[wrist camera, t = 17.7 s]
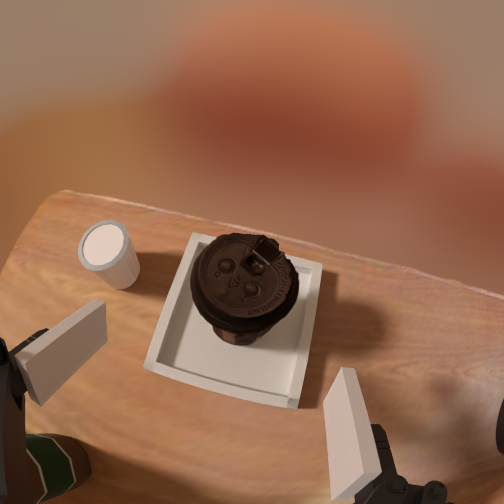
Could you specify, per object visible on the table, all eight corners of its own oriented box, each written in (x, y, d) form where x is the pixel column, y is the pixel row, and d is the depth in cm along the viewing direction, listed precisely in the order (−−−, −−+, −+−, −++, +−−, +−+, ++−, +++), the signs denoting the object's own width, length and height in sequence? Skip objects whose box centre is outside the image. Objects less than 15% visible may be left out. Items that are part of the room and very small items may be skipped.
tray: (317, 272, 36) (322, 263, 34) (291, 408, 27) (296, 409, 25) (194, 242, 37) (193, 231, 35) (149, 370, 28) (142, 367, 26)
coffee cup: (271, 283, 34) (292, 221, 22) (283, 349, 30) (316, 318, 18) (200, 290, 32) (185, 228, 21) (206, 358, 28) (189, 333, 17)
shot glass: (90, 277, 33) (67, 253, 27) (119, 240, 36) (102, 211, 30) (124, 303, 32) (103, 281, 26) (154, 262, 35) (140, 233, 29)
